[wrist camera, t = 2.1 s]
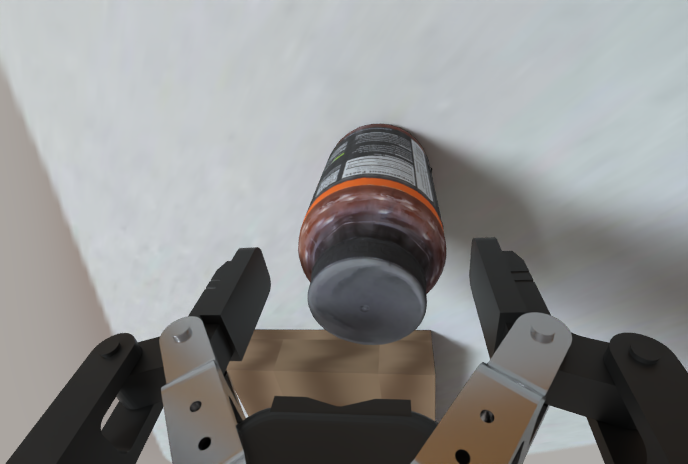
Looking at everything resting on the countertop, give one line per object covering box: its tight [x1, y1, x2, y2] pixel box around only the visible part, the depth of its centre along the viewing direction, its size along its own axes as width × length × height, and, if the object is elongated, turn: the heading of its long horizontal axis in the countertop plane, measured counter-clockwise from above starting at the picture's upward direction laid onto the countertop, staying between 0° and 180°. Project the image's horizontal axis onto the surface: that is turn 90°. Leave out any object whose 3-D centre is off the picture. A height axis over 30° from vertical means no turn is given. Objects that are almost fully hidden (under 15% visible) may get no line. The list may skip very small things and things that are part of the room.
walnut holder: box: [227, 330, 435, 421], centre depth 32 cm, size 16×16×4 cm
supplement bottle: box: [298, 124, 446, 345], centre depth 16 cm, size 6×6×11 cm
